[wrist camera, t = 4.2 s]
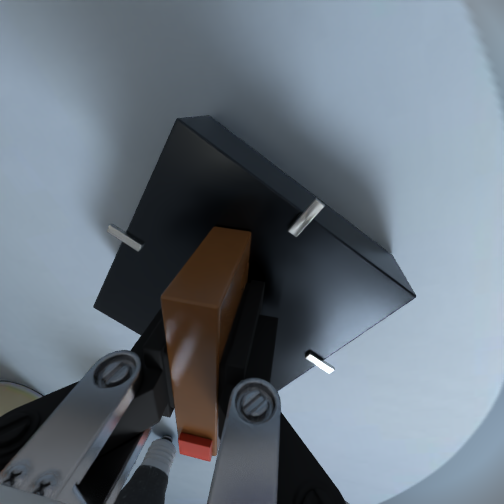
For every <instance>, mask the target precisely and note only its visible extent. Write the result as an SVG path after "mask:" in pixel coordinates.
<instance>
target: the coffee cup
mask: <svg viewBox="0 0 504 504" xmlns="http://www.w3.org/2000/svg"><path fill="white" fill-rule="evenodd" d="M41 397H43V396H42V395H40V394H38V393H37V392H35V391H33V390H31V389H29V388H27V387H24V386H22V385H19V384H16V383H11V382H0V417H1V416H2V415H4V414H5V413H7V412H9V411H11V410H13V409H15V408H17V407H19V406H22V405H24V404H26V403H29V402H31V401H34V400H36V399H38V398H41Z"/></svg>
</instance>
